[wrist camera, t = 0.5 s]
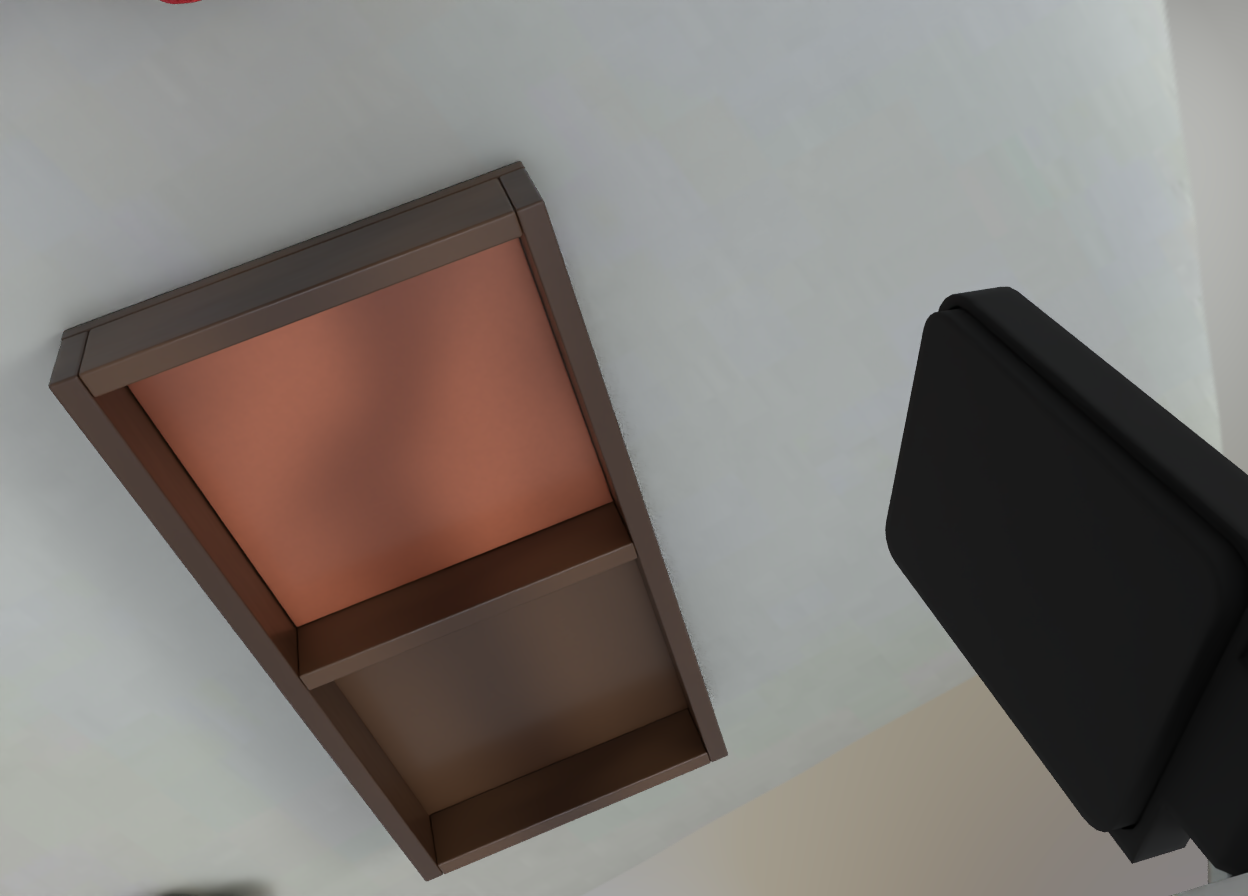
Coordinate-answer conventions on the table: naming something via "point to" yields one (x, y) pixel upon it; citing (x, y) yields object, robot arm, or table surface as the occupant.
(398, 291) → the wooden divided tray
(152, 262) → the table surface
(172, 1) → the bird rattle
